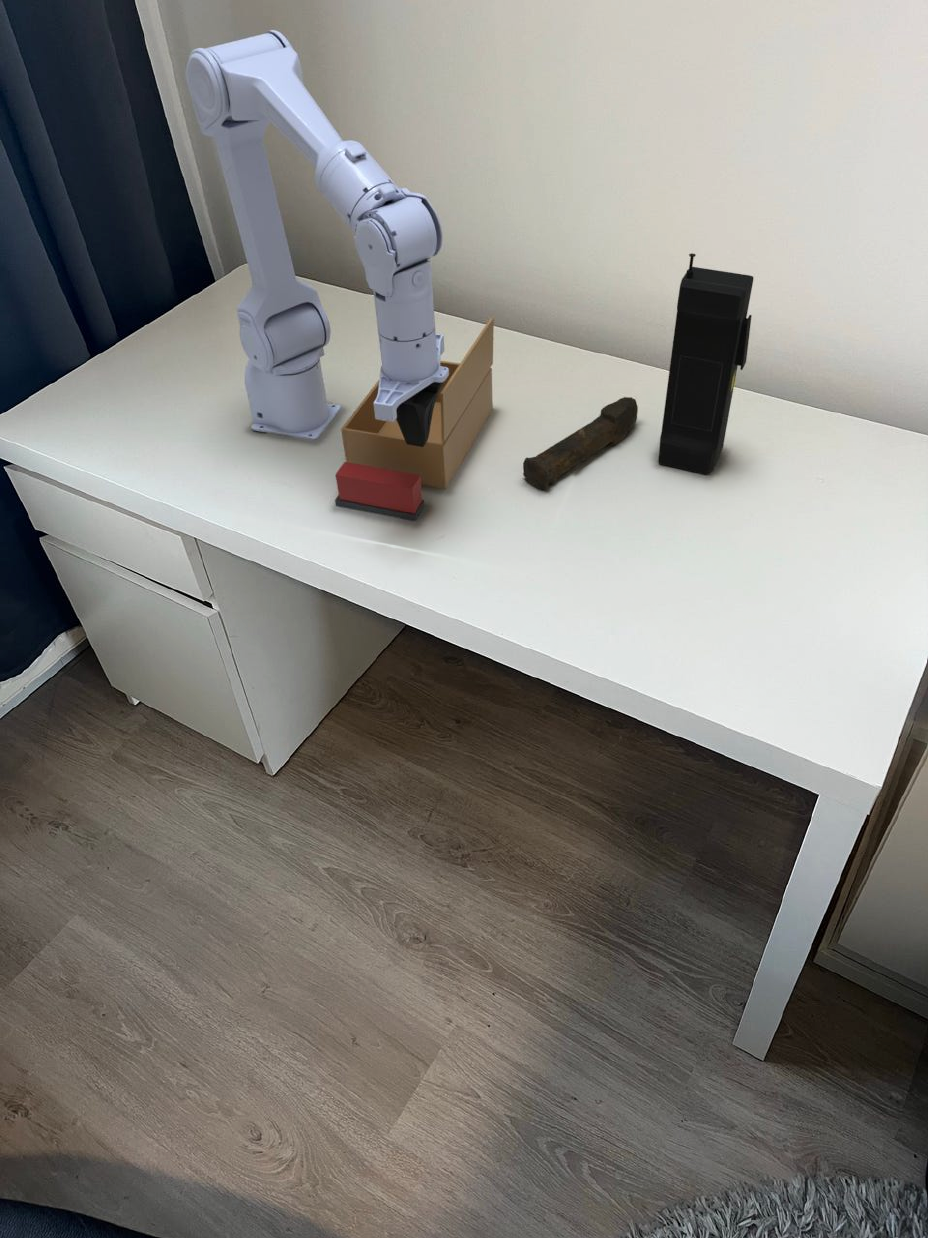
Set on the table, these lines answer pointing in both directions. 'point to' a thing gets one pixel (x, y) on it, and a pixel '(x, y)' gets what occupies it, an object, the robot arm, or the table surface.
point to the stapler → (379, 491)
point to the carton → (432, 462)
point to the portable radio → (704, 366)
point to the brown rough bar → (582, 443)
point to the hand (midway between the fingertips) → (417, 442)
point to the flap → (466, 379)
